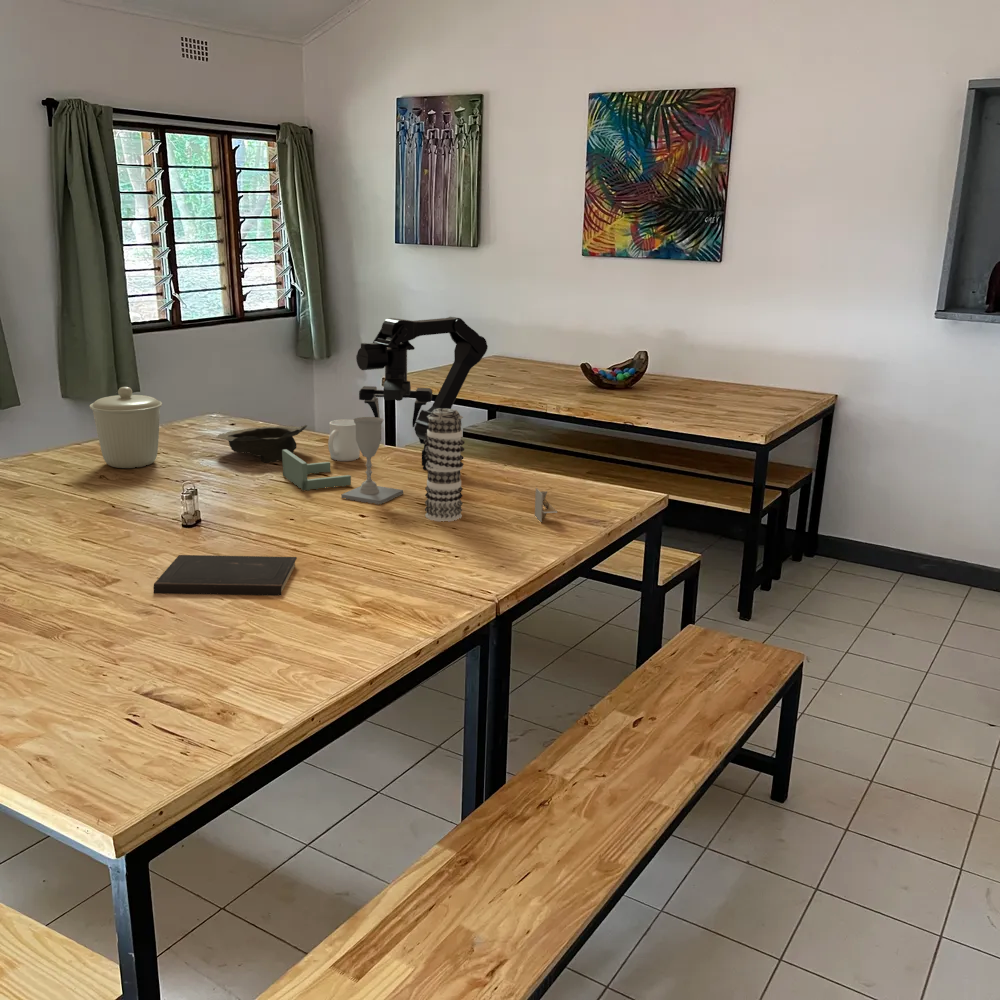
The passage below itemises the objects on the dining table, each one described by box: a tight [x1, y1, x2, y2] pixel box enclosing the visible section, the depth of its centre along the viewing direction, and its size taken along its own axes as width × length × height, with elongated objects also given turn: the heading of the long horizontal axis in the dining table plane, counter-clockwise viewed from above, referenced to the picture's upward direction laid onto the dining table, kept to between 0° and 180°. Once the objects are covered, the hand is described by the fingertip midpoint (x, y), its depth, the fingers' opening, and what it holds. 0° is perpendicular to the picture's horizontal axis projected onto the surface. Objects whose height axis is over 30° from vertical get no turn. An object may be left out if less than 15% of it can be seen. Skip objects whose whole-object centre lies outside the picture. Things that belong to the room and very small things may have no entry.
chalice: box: [352, 416, 384, 494], centre depth 239 cm, size 7×7×18 cm
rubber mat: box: [340, 485, 404, 505], centre depth 241 cm, size 11×11×1 cm
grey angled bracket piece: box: [534, 487, 558, 523], centre depth 225 cm, size 3×7×7 cm, turn 13°
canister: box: [89, 386, 163, 469], centre depth 261 cm, size 18×18×21 cm
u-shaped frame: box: [281, 449, 352, 492], centre depth 252 cm, size 13×16×7 cm
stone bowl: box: [215, 424, 308, 464], centre depth 276 cm, size 25×25×9 cm
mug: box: [327, 419, 361, 462], centre depth 274 cm, size 12×8×10 cm
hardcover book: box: [153, 554, 297, 597], centre depth 184 cm, size 16×23×2 cm
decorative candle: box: [424, 408, 466, 523], centre depth 223 cm, size 9×9×25 cm
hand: (396, 426), depth 258 cm, fingers open, 9 cm apart
